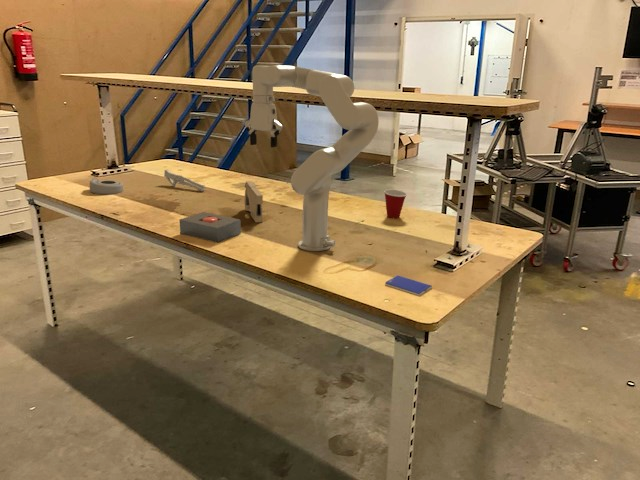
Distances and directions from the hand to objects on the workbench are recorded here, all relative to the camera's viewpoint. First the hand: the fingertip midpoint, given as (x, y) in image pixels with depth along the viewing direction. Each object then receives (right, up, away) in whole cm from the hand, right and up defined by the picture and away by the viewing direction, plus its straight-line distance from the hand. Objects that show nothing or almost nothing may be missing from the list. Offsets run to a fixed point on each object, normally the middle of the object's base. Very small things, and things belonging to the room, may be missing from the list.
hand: (263, 145), depth 199 cm
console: (-23, -34, +12) cm, 42 cm away
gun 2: (-9, -26, +38) cm, 47 cm away
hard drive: (+50, -52, -34) cm, 80 cm away
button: (-23, -31, +11) cm, 40 cm away
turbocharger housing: (-92, -11, +75) cm, 119 cm away
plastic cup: (+56, -26, +43) cm, 75 cm away
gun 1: (-53, -8, +87) cm, 103 cm away
